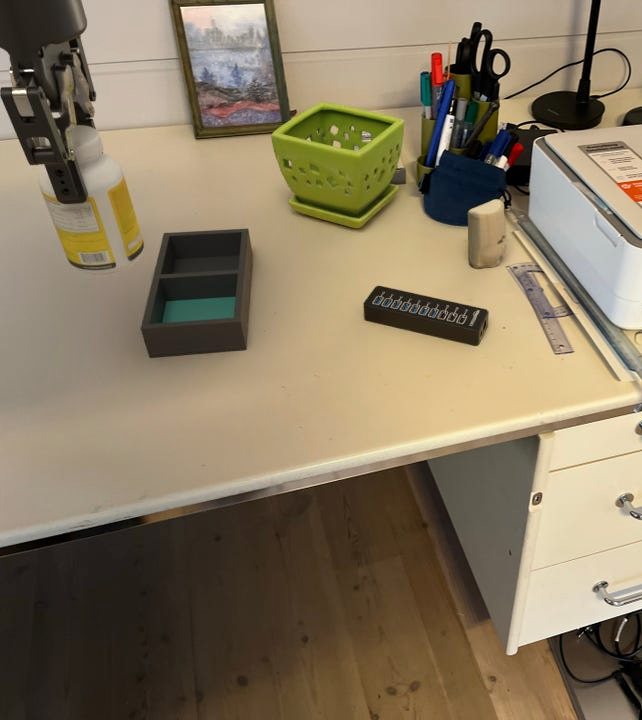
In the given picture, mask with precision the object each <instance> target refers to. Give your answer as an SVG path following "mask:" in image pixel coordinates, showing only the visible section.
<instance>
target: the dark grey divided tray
mask: <svg viewBox="0 0 642 720" xmlns="http://www.w3.org/2000/svg"><path fill="white" fill-rule="evenodd" d="M253 253H254V252H253V247H252V242H251V237H250V230H249V228H248V227H247V228H230V229H211V230H198V231H197V230H195V231H193V230H192V231H175V232H164V233H163V235H162V239H161V243H160V246H159V252H158V254H157V255H158V256H157V258H156V259H157V260H156V264H155V268H154V271H153V276H152V280H151V284H150V288H149V293H148V297H147V301H146V305H145V308H144V309H145V310H144V313H143V317H142V322H141V324H140V333H141V335H142V339H143V342H144V344H145V349H146V351H147V355H148V357H149V359H151V358H163V357H176V356H188V355H199V354H210V353H211V354H212V353H223V352H237V351H247V348H248V347H247V346H248V332H249V331H248V330H249V319H250V317H249V316H250V303H251V288H252V275H253V274H252V272H253V261H254V259H253V258H254V254H253Z"/></svg>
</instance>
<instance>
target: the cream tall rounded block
mask: <svg viewBox="0 0 642 720" xmlns="http://www.w3.org/2000/svg"><path fill="white" fill-rule="evenodd" d="M467 246H468V247H467V253H468V254H467V255H468V264H469V266H470V267H472V268H474V269H483V268H493V267H496V266H498V265H499V264H501V260H500V259H501V258H502V257H503V256H504V253H505V252H506V249H507V227H506V217H505V203H504V202H503V201H502V200H501V199H499V198H497V199H492V200H490V201H488V202H485V203H483V204H480V205H477V206H475V207H473V208H470V209H469V210H468V212H467Z"/></svg>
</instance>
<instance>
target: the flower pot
mask: <svg viewBox="0 0 642 720" xmlns="http://www.w3.org/2000/svg"><path fill="white" fill-rule="evenodd" d="M333 126H334V127H335V128H336V129H337V132H336V133H334V132H333V131H331V130H332V127H333ZM352 127H353V130H352ZM363 132H365V133H369V134H370V141H366V140H364V139H363ZM404 132H405V120H404V119H402V118H400V117H395V116H391V115H387V114H383V113H379V112H374V111H370V110H366V109H361V108H357V107H352V106H347V105H342V104H337V103H331V102H326V101H321V102H319V103H317V104H315V105H313V106H312V107H310V108H307V109H306V110H305V111H302V112H301V113H299V114H298V115H296V116H294V117H293V118H291V119H289V120H288V121H287V122H285V123H284V124H282V125H281V126H279V127H278V128H277V129H276V130H274V131H273V132H272V133H271V135H270V136H271V144H272V148H273V152H274V156H275V158H276V161H277V164H278V168H279V170H280V172H281V175H282V177H283V179H284V181H285V183H286V184H287V186H288V188H289V189H290V190H291V192H292V193H293V194H294V196H293V197H291V198H290V199H289V201H288V205H289V206H290V208H292V209H293V210H295V211H296V212H298V213H300V214H303V215H305V216H309V217H313V218H317V219H319V220H323V221H328V222H331V223H333V224H334V223H335V224H338V225H341V226H345V227H349V228H353V229H360V228H361V227H362V226H364V225H365V224H366V223H367V222H368V221H369V220H370V219H371V218H373V217H374V216H375V215H376V214H377V213H378V212H380V211H381V209H382V208H384V207H385V206H386V205H387V204H388V203H389V202H390V201H392V199H394V197H395V196H396V194H397V193H398V191H399V189H400V187H399V185H397V184H395V183H394V184H393V183H391V181H392V180H393V177H394V175H395V172H396V170H397V168H398V164H399V161H400V159H401V153H402V148H403V143H404V134H405V133H404ZM346 134H347V135H348V138H347V139H346V136H345V135H346ZM308 139H310V140H308ZM334 142H337V143H339V144H340V147H339V146H334ZM355 146H356V147H358V150H355ZM290 163H291V165H290Z"/></svg>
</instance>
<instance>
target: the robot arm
mask: <svg viewBox="0 0 642 720" xmlns="http://www.w3.org/2000/svg"><path fill="white" fill-rule="evenodd" d="M87 27H88V20H87V15H86V12H85V8H84V5H83V1H82V0H0V49H2V50H3V51H5V52H6V53H7V55H8V56H9V63H10V66H9V77H10V83H11V86H1V87H0V99H1V102H2V104H3V106H4V109H5V111H6V113H7V115H8V118H9V120H10V123H11V125H12V127H13V130H14V132H15V134H16V138H17V140H18V142H19V144H20V147H21V149H22V151H23V154H24V156H25V158H26V161H27V163H28V165H30V166H41V165H43V166H44V165H45V168H46V171H47V173H48V176H49V179H50V182H51V184H52V187H53V190H54V193H55V195H56V198H57V200H58V201H59V202H60V203H62V204H78V203H84V202H86V200H87V197H88V192H87V189H86V186H85V183H84V180H83V177H82V174H81V171H80V168H79V165H78V162H77V159H76V157H75V150H74V146H73V140H72V134H71V131H72V130H73V129H74V128H75V127H76V125H84V126H89V127H92V128H94V129H96V130H97V128H96V125H95V121H94V119H93V118H94V117H95V113H96V111H95V107H94V106H93V102H96V101H97V92H96V90H95V87H94V83H93V80H92V76H91V72H90V69H89V65H88V61H87V58H86V53H85V49H84V46H83V41H82V36H81V35H82V34H84V33H85V32H86V30H87ZM55 113H58V114H59V116H58V117H54V116H53V114H55ZM58 130H59V131H58ZM59 132H60V134H59ZM45 138H47V139H48V140H49V142H50V145H46V143H45ZM102 153H103V154H104V152H102Z"/></svg>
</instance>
